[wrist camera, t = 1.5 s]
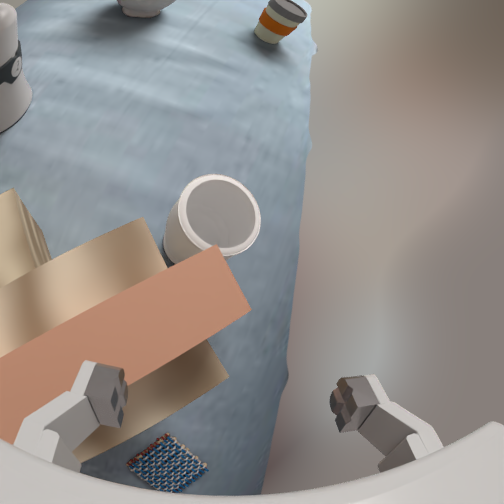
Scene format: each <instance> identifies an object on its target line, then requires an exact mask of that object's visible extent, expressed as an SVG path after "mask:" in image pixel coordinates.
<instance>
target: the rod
mask: <svg viewBox="0 0 504 504" xmlns="http://www.w3.org/2000/svg"><path fill="white" fill-rule="evenodd" d="M249 311H251V308H250V306H249V304H248V302H247V300H246V298H245V297H244V295H243V293H242V291H241V289H240V287H239V285H238V283H237V282H236V280H235V278H234V276H233V274H232V272H231V270H230V268H229V266H228V265H227V263H226V261H225V259H224V257H223V255H222V253H221V251H220V249H219V247H218V245H217V244H216V245H214V246H212V247H210V248H208V249H206V250H204V251H202V252H200V253H197V254H195V255H193V256H191V257H189V258H187V259H185V260H183V261H181V262H179V263H177V264H175V265H173V266H171V267H169V268H167V269H165V270H163V271H161V272H159V273H158V274H156V275H154V276H152V277H150V278H148V279H146V280H144V281H142V282H140V283H138V284H136V285H134V286H132V287H130V288H128V289H126V290H124V291H122V292H120V293H119V294H117V295H115V296H113V297H111V298H109V299H107V300H105V301H103V302H101V303H99V304H97V305H96V306H94V307H92V308H90V309H88V310H86V311H84V312H82V313H81V314H79V315H77V316H75V317H73V318H71V319H69V320H67V321H66V322H64V323H62V324H60V325H58V326H56V327H55V328H53V329H51V330H49V331H47V332H45V333H44V334H42V335H40V336H38V337H36V338H34V339H33V340H31V341H29V342H27V343H25V344H24V345H22V346H20V347H18V348H17V349H15V350H13V351H11V352H9V353H8V354H6V355H4V356H2V357H1V358H0V438H1V439H2V440H4V441H6V442H8V443H10V444H14V442H15V439H16V437H17V434H18V432H19V429H20V427H21V425H22V422H23V420H24V418H26V417H27V416H29V415H30V414H32V413H33V412H35V411H36V410H38V409H40V408H41V407H43V406H44V405H46V404H47V403H49V402H50V401H52V400H53V399H55V398H57V397H58V396H60V395H61V394H63V393H64V392H66V391H69V392H70V391H71V388H72V386H73V384H74V381H75V379H76V377H77V374H78V372H79V370H80V368H81V365H82V363H83V362H84V361H85V360H88V361H92V362H96V363H101V364H105V365H110V366H114V367H119V368H123V369H124V372H125V377H124V380H125V381H126V382H127V386H128V385H130V384H132V383H134V382H135V381H137V380H139V379H141V378H142V377H144V376H146V375H148V374H149V373H151V372H153V371H154V370H156V369H158V368H159V367H161V366H163V365H165V364H166V363H168V362H170V361H171V360H173V359H175V358H176V357H178V356H180V355H181V354H183V353H184V352H186V351H188V350H189V349H191V348H193V347H194V346H196V345H198V344H199V343H201V342H202V341H204V340H206V339H207V338H209V337H210V336H212V335H214V334H215V333H217V332H218V331H220V330H221V329H223V328H225V327H226V326H228V325H229V324H231V323H232V322H234V321H235V320H237V319H238V318H240V317H242V316H243V315H245V314H246V313H248V312H249Z"/></svg>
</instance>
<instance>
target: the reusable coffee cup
mask: <svg viewBox="0 0 504 504" xmlns="http://www.w3.org/2000/svg"><path fill="white" fill-rule="evenodd" d="M306 17H307V13H306V12H305V10H304V9H303V8H301V7H300V6H299V5H297V4H296V3H294V2H293V1H291V0H270V1H269V2H268V6H267V8H265V9H264V10H263V12H262V14H261V16H260V18H259V22H258V24H257V26H256V28H255V30H254V32H255V34H256V35H257V36H258V37H259V38H260V39H262V40H263V41H265V42H267V43H271V44H277V43H278V42H279V41H280V40H281V39H282V38H284V37H285V36H287V35H289V34H290V33H291V32H292V31H293V30H295V29H296V28H297V25H299V24H300V23H302V22H303V21H304V20H305V18H306Z"/></svg>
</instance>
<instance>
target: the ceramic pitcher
mask: <svg viewBox="0 0 504 504" xmlns="http://www.w3.org/2000/svg"><path fill="white" fill-rule="evenodd" d="M174 1H175V0H117V2H118V3H119V4H120V5H121V6H123V8H122V11H123V13H125V14H126V15H127V16H131V17H141V18H151V17H153V16H156V15H158V14H160V10H161V9H163V8H165V7H167V6H169V5H170V4H172V3H173V2H174Z"/></svg>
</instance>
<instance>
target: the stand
mask: <svg viewBox="0 0 504 504" xmlns="http://www.w3.org/2000/svg"><path fill="white" fill-rule="evenodd" d="M165 269H167V266H166V264H165V262H164V260H163V258H162V256H161V254H160V252H159V249H158V247H157V245H156V243H155V241H154V239H153V237H152V235H151V233H150V231H149V229H148V226H147V224H146V222H145V220H144V218H143V217H142V218H139V219H137V220H135V221H132V222H130V223H128V224H126V225H123V226H121V227H119V228H117V229H114V230H112V231H110V232H108V233H106V234H103V235H101V236H99V237H97V238H95V239H93V240H91V241H88V242H86V243H84V244H82V245H80V246H78V247H76V248H74V249H72V250H70V251H68V252H66V253H64V254H62V255H60V256H58V257H56V258H54V259H52V260H50V261H48V262H47V263H45V264H43V265H41V266H39V267H37V268H35V269H33V270H32V271H30V272H28V273H26V274H24V275H23V276H21V277H19V278H17V279H15V280H14V281H12V282H10V283H9V284H7V285H5V286H3V287H2V288H0V358H1V357H2V356H4V355H6V354H8V353H9V352H11V351H13V350H15V349H17V348H18V347H20V346H22V345H24V344H25V343H27V342H29V341H31V340H33V339H34V338H36V337H38V336H40V335H42V334H44V333H45V332H47V331H49V330H51V329H53V328H55V327H56V326H58V325H60V324H62V323H64V322H66V321H67V320H69V319H71V318H73V317H75V316H77V315H79V314H81V313H82V312H84V311H86V310H88V309H90V308H92V307H94V306H96V305H97V304H99V303H101V302H103V301H105V300H107V299H109V298H111V297H113V296H115V295H117V294H119V293H120V292H122V291H124V290H126V289H128V288H130V287H132V286H134V285H136V284H138V283H140V282H142V281H144V280H146V279H148V278H150V277H152V276H154V275H156V274H158V273H159V272H161V271H163V270H165ZM228 377H229V375H228V374H227V372H226V370H225V369H224V367H223V366H222V364H221V362H220V361H219V359H218V357H217V356H216V354H215V352H214V351H213V349H212V347H211V346H210V344H209V342H208V341H207V339H206V340H204V341H202V342H201V343H199V344H198V345H196V346H194V347H193V348H191V349H189V350H188V351H186V352H184V353H183V354H181V355H180V356H178V357H176V358H175V359H173V360H171V361H170V362H168V363H166V364H165V365H163V366H161V367H159V368H158V369H156V370H154V371H153V372H151V373H149V374H148V375H146V376H144V377H142V378H141V379H139V380H137V381H135V382H134V383H132V384H130V385H128V399H127V403H126V406H124V407H123V408H122V410H123V413H124V416H123V421H122V425H121V428H116V427H111V426H106V425H101V424H99V425H100V426H99V427H98V428H96V429H95V430H94V431H93V432H92V433H91V434H90V435H89V436H88V437H87V438H86V439H85V440H84V441H83V442H82V443H81V444H80V445H79V446H77V447H76V448H75V449H74V450H73V451H72V453H73V454H74V455H75V457H76V458H77V459H78V460H79V461H80V463H82V462H84V461H86V460H88V459H91V458H93V457H95V456H97V455H99V454H101V453H103V452H105V451H107V450H109V449H111V448H113V447H115V446H117V445H118V444H120V443H122V442H124V441H126V440H128V439H130V438H132V437H133V436H135V435H137V434H139V433H141V432H142V431H144V430H146V429H148V428H149V427H151V426H153V425H155V424H156V423H158V422H160V421H161V420H163V419H165V418H166V417H168V416H170V415H171V414H173V413H175V412H176V411H178V410H180V409H181V408H183V407H184V406H186V405H188V404H189V403H191V402H192V401H194V400H195V399H197V398H198V397H200V396H202V395H203V394H205V393H206V392H208V391H209V390H211V389H212V388H214V387H215V386H217V385H218V384H219V383H221V382H222V381H224V380H225V379H227V378H228Z"/></svg>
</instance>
